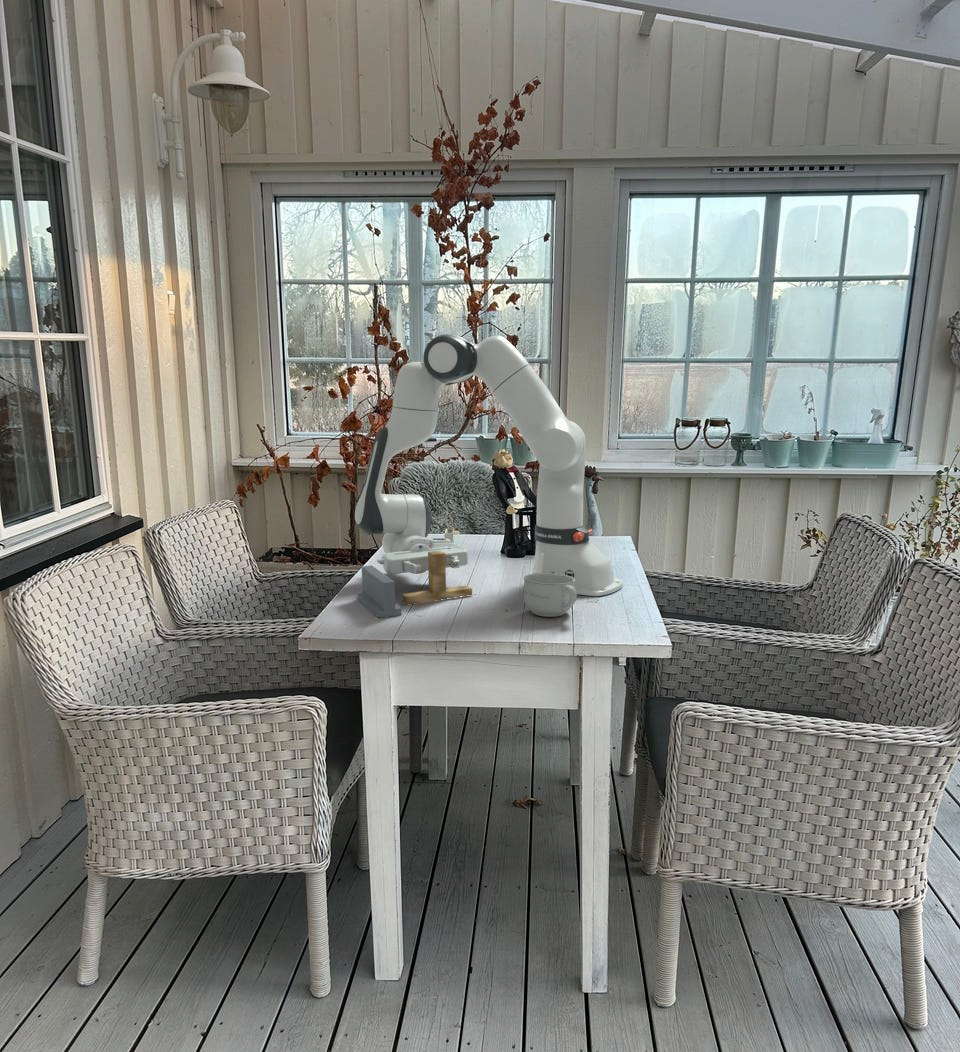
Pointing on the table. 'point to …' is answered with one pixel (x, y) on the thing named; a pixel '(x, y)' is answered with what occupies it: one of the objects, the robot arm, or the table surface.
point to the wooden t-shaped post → (436, 583)
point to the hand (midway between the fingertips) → (437, 567)
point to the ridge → (378, 593)
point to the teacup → (549, 593)
